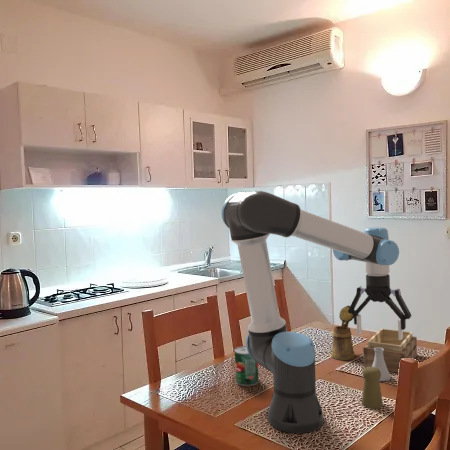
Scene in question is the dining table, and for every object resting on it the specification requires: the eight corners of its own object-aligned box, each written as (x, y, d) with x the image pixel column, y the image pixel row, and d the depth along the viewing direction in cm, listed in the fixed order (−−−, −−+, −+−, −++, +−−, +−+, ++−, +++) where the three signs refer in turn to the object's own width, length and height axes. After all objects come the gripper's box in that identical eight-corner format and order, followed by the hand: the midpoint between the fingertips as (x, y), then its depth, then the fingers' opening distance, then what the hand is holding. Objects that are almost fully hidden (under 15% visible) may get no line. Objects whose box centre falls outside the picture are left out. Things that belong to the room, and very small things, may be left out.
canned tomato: (263, 380, 158) (262, 348, 158) (248, 388, 152) (247, 355, 152) (245, 375, 164) (244, 344, 163) (230, 382, 158) (229, 350, 157)
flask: (392, 382, 152) (391, 352, 152) (369, 381, 154) (368, 352, 153) (389, 374, 159) (388, 345, 159) (367, 373, 161) (366, 345, 160)
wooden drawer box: (404, 373, 159) (404, 353, 159) (363, 366, 167) (363, 347, 167) (416, 354, 177) (416, 336, 176) (379, 349, 185) (379, 332, 184)
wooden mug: (361, 351, 184) (360, 306, 183) (350, 361, 172) (349, 314, 171) (339, 347, 189) (338, 304, 187) (327, 358, 177) (326, 311, 176)
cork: (380, 410, 133) (379, 373, 132) (359, 406, 136) (358, 369, 136) (385, 402, 138) (384, 366, 138) (364, 398, 141) (364, 363, 141)
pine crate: (401, 368, 161) (401, 346, 161) (368, 363, 167) (367, 341, 167) (412, 353, 176) (412, 332, 176) (381, 348, 183) (381, 328, 182)
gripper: (419, 273, 151) (421, 337, 152) (344, 270, 164) (346, 329, 166) (415, 277, 145) (416, 344, 146) (337, 273, 158) (339, 334, 160)
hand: (379, 336), depth 156 cm, fingers open, 13 cm apart
